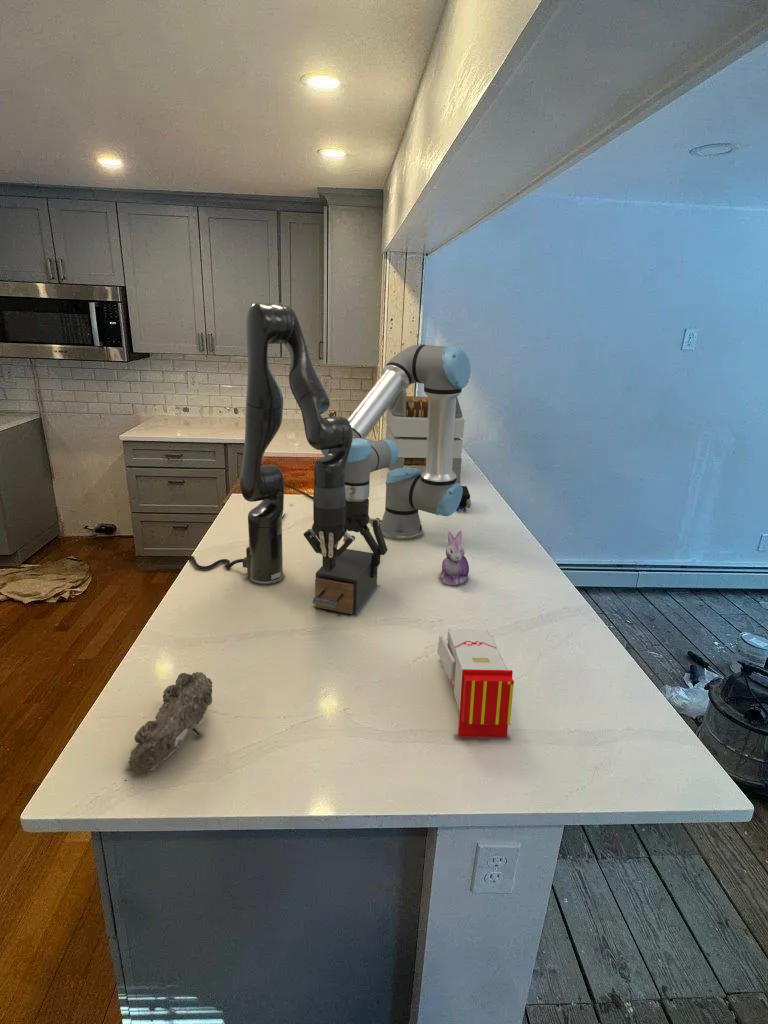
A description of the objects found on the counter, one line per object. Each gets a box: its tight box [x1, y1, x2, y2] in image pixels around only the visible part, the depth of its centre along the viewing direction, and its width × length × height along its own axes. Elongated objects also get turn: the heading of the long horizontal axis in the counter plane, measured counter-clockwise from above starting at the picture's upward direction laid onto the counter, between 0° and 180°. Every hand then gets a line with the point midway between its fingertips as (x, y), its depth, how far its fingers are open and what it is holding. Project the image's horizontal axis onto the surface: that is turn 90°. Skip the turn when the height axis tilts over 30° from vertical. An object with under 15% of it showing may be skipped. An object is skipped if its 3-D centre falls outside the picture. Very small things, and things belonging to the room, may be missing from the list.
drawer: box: [312, 577, 354, 615], centre depth 149 cm, size 22×10×8 cm, turn 163°
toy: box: [437, 628, 515, 738], centre depth 117 cm, size 12×13×30 cm
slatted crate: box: [384, 389, 465, 484], centre depth 268 cm, size 34×33×41 cm
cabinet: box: [315, 548, 379, 616], centre depth 154 cm, size 18×11×10 cm, turn 163°
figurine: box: [440, 530, 470, 586], centre depth 165 cm, size 9×10×15 cm
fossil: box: [128, 671, 213, 773], centre depth 102 cm, size 22×10×15 cm
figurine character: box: [456, 485, 472, 513], centre depth 228 cm, size 7×8×15 cm
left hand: (329, 569), depth 138 cm, fingers closed
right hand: (352, 572), depth 157 cm, fingers closed on cabinet, 11 cm apart
